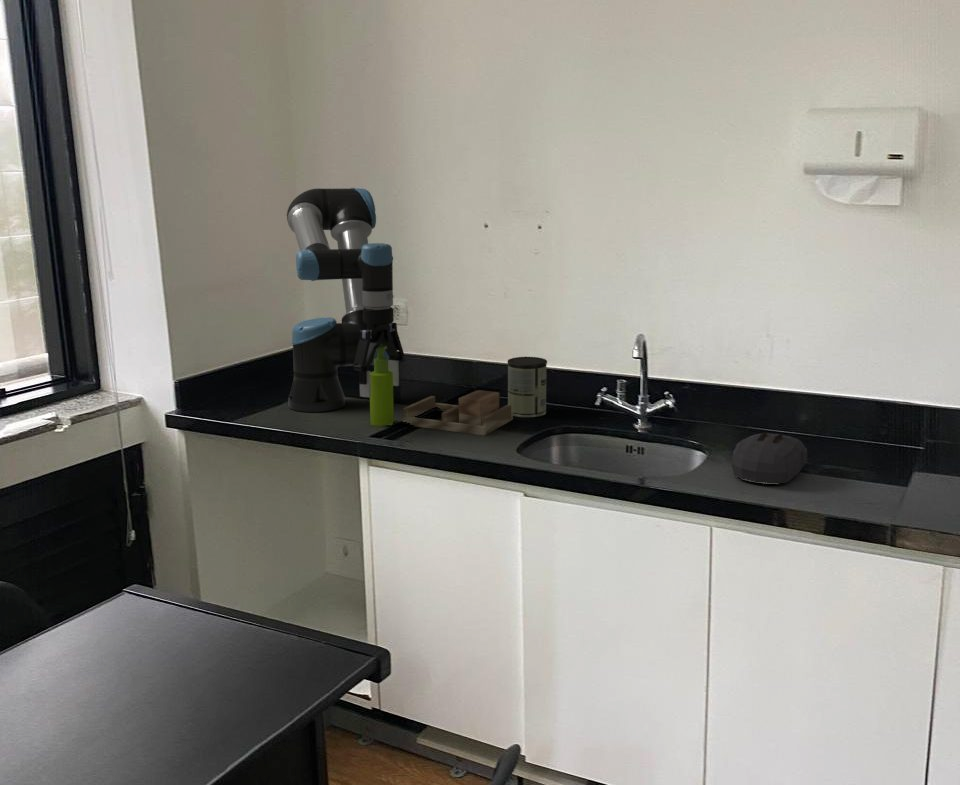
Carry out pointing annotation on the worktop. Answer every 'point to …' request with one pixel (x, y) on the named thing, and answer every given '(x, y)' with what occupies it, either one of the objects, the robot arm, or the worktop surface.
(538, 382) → the coffee can
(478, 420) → the lower offcut
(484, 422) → the rack
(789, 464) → the slotted dark dome
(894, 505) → the worktop surface
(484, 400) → the upper offcut
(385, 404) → the soap dispenser
